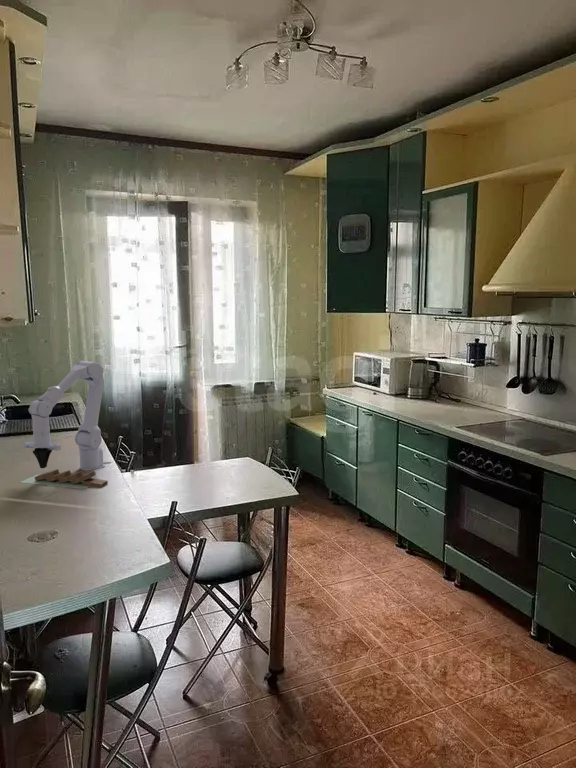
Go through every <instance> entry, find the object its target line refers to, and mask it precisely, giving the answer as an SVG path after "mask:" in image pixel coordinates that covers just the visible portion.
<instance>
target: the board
mask: <svg viewBox="0 0 576 768" xmlns="http://www.w3.org/2000/svg"><path fill="white" fill-rule="evenodd" d="M38 475H39V474H35V475H33V476H31V477H28V478H26V479H24V480H21V481H20V483H24V484H32V485H43V486H50V487H51V486H52V487H63V488H72V489H84V490H86V489H88V488H89V487H91V486H85V485H83V481H81V482H78V483H76V484H73V485H72V482H71V480H70V481H66V482H63V483H59V480H58V479H57V480H54V481H50V482H47V479H46V478H45V479H42V480H38V481H36V480H35V477H36V476H38Z"/></svg>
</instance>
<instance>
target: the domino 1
mask: <svg viewBox="0 0 576 768" xmlns="http://www.w3.org/2000/svg"><path fill="white" fill-rule="evenodd" d="M59 473H60V471H59V469H54V470H50V471H47V472H43V473H41V474H37V475H38V476H36V477H35V480H36V481H38V480H42V479H45V478H49V477H52V476H54V475H57V474H59Z"/></svg>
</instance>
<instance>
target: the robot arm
mask: <svg viewBox="0 0 576 768" xmlns="http://www.w3.org/2000/svg"><path fill="white" fill-rule="evenodd" d="M103 375H104V367H103V366H102V365H101V364H100V363H99V362H98V361H97V362H96V361H86V360H79V361H77V362H76V364H74V365H73V366H72V368H71V370H70V371H69V372H68V373H67V374H66V375H65V377H64V378H63V379H62V380H61V381H60V382H59V383H58V384H57V385H52V386H49V387H47V390H46V391H45V392H44V393H43V394H42V395H41V396H39V397H38V399H37V400H34V401H32V402H31V403H30V405H29V408H28V409H27V410H28V413H29V414H30V415H31V419H32V433H33V434H32V436H33V441H25V442H24V443H23V448H24V449H34V450H32V454H33V455H34V456H35V458H36V460H37V463H38V465H39V468H40V469H45V468H47V467H48V463H49V458H50V455H51V454H52V452H53V451H55V452H57V451H61V449H62V448H61V447H62V445H61V444H59V443H54V442H51V434H50V433H51V432H50V431H51V429H50V428H51V427H50V415H51V414H52V411H53V408H54V407H55V406H56V405H57V404H58V403H59V402H60V401H61V400H62V399H63V398H64V396H65V395H64V393H65V392H66V391H67V390H68V389H70V388H71V387H72V386H73V385H74V384H75V383H76V382H77V381H79V380H84V381H85V382H86V383H87V385H88V392H87V399H86V403H85V404H86V405H85V410H84V416H83V422H82V424H80V426H78V430H77V432H76V434H75V437H74V442H75V444H76V445H77V446H78V451H79V453H78V455H79V468H80V470H81V471H82V470H83V471H92V470H93V471H94V470H97V469H98V468H100V469H102V468H104V467H106V464H104V451H103V449H102V447H101V443H102V436H101V435H102V431H101V428H100V427H99V426H98V423H99V418H100V417H99V416H100V410H101V405H102V399H103V391H104V386H105V379H104V376H103Z"/></svg>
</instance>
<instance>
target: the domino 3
mask: <svg viewBox="0 0 576 768" xmlns="http://www.w3.org/2000/svg"><path fill="white" fill-rule="evenodd" d="M83 475H84V473H83V471H82V470H81V471H77V472H74V473H71V475H69V476H67V477H64V478H61V479H58V480H59V483H63V482H66V481H70V480H73V479H76V478H79V477H81V476H83Z"/></svg>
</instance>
